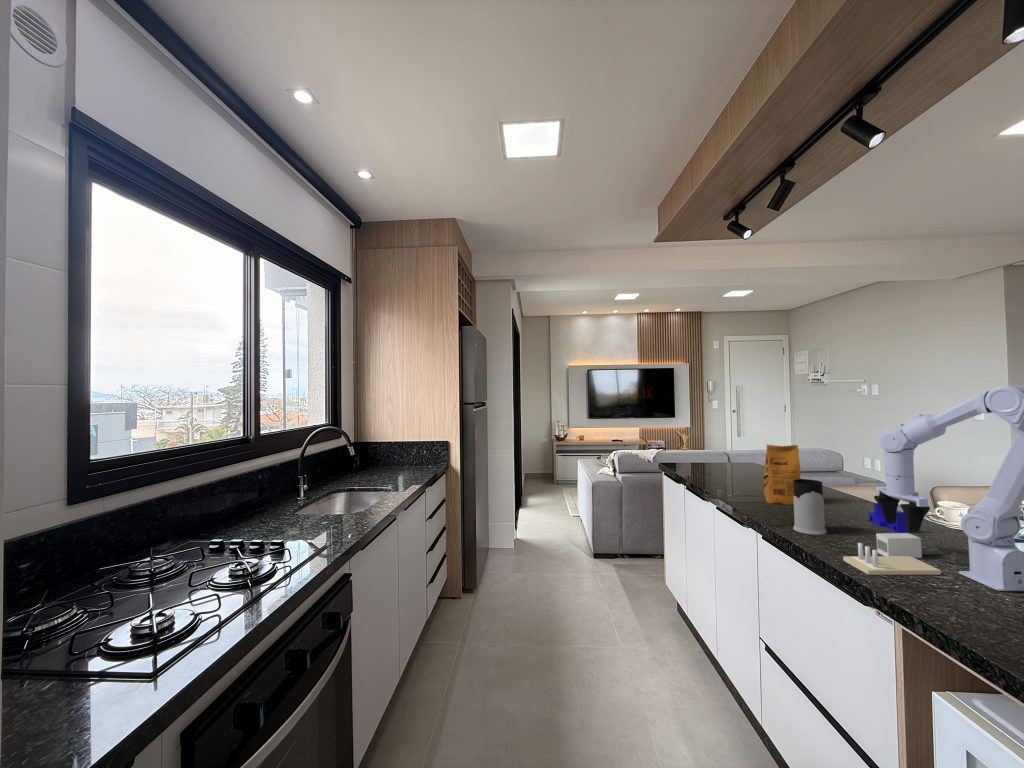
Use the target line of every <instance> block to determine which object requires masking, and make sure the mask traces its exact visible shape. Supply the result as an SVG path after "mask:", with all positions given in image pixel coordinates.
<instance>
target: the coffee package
mask: <svg viewBox="0 0 1024 768" xmlns="http://www.w3.org/2000/svg"><path fill="white" fill-rule="evenodd" d="M765 453H766V454H765V460H764V463H765V464H764V473H763V481H762V484H763V486H762V487H763V489H762V490H763V494H764V498H765V502H766V503H768V504H771V505H772V504H781V505H786V506H789V505H791V506H792V505H793V506H794V499H793V496H794V484H793V480H796V479H801V465H800V457H799V445H798V444H792V445H774V444H767V443H766V452H765Z"/></svg>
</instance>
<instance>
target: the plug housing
mask: <svg viewBox="0 0 1024 768" xmlns="http://www.w3.org/2000/svg"><path fill="white" fill-rule="evenodd" d="M875 535H876V550H877V551H878V555H880V556H911V557H913V558H915V559H918V558H919V559H923V556H940V555H941V554H942V551H941V550H939V549H936V548H933V549H929V548H928V549H927V548H925V549H922V538H921V537H919V536H916V535H914V534H913V533H897V532H895V533H894V532H892V533H887V532H885V533H883V532H882V533H881V532H879V533H876V534H875Z"/></svg>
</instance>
